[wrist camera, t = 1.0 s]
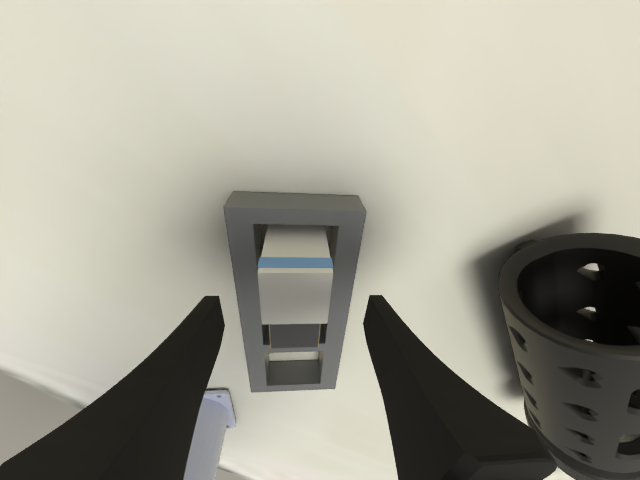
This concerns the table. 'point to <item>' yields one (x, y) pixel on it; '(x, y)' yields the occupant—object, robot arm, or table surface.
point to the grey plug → (295, 275)
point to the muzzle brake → (579, 349)
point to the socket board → (245, 252)
